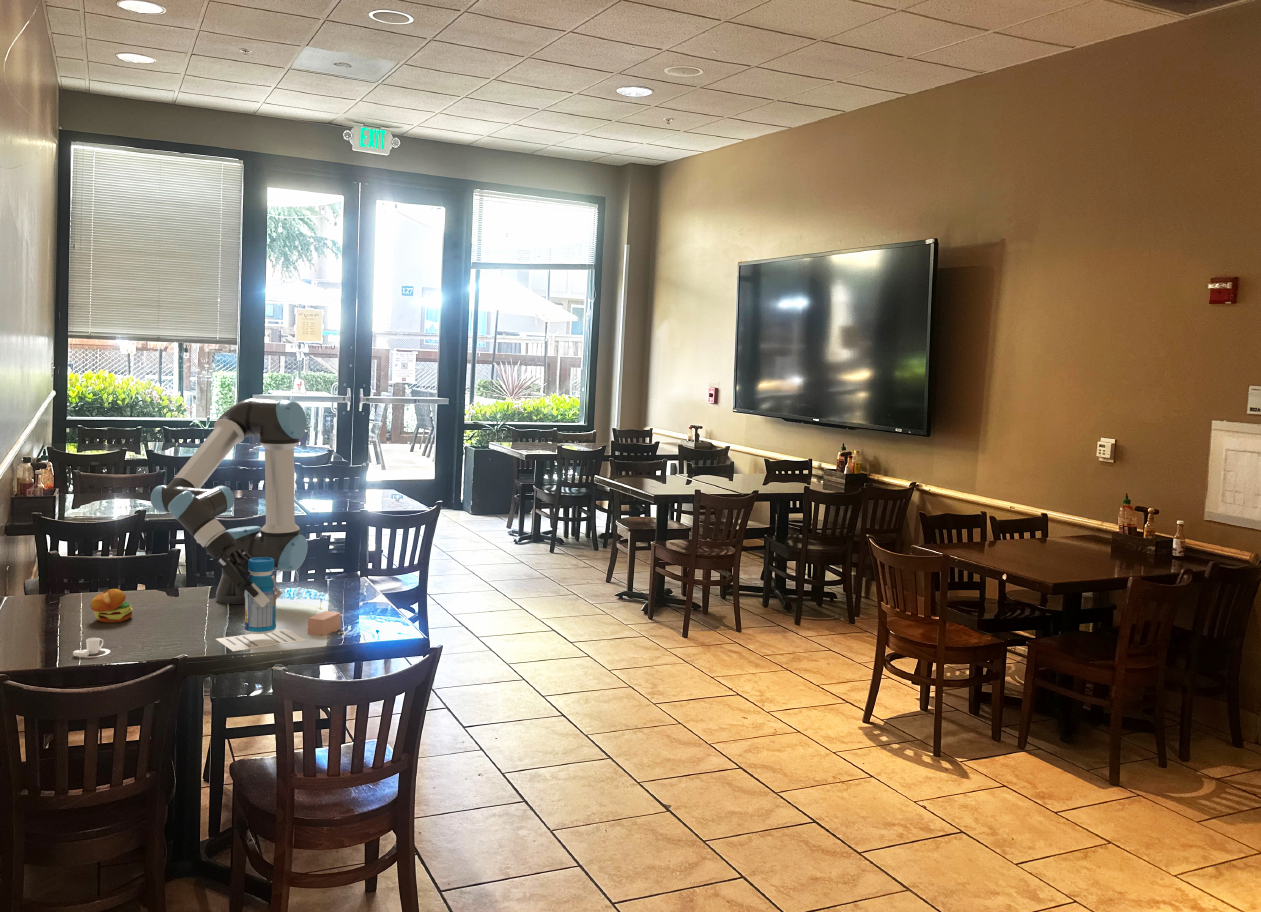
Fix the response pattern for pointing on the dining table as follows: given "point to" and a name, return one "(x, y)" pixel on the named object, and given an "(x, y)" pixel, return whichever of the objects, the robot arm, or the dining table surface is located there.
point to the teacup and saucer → (91, 648)
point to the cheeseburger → (111, 606)
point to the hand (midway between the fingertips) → (272, 600)
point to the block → (324, 623)
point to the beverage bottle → (263, 578)
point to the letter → (260, 640)
